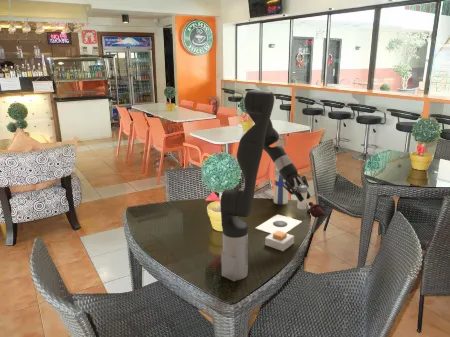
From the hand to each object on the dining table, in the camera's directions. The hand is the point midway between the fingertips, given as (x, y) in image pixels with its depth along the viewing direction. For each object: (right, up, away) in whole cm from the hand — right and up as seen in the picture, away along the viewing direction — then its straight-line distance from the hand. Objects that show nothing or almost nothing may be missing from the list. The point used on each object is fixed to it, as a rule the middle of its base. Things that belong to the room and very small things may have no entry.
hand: (305, 199), depth 166 cm
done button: (-12, -17, -3) cm, 21 cm away
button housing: (-12, -19, -3) cm, 23 cm away
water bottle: (-5, -5, +44) cm, 44 cm away
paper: (-10, -14, +15) cm, 23 cm away
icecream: (+11, -11, +24) cm, 29 cm away
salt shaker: (-1, -4, +3) cm, 5 cm away
